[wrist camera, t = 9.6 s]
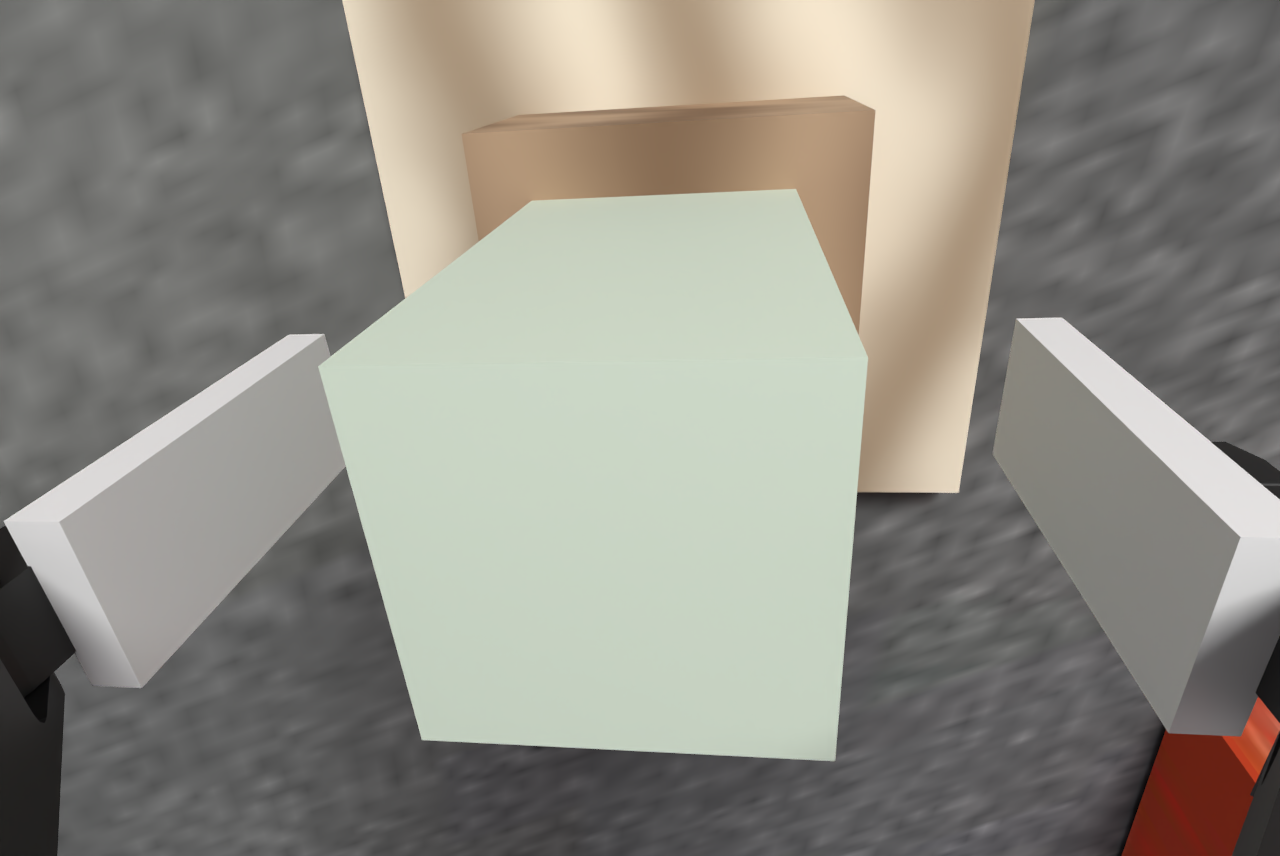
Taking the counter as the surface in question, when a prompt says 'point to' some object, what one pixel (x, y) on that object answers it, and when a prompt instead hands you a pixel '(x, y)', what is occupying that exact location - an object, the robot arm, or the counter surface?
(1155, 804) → the file binder
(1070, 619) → the counter surface
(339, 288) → the counter surface
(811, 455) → the sage pillar
